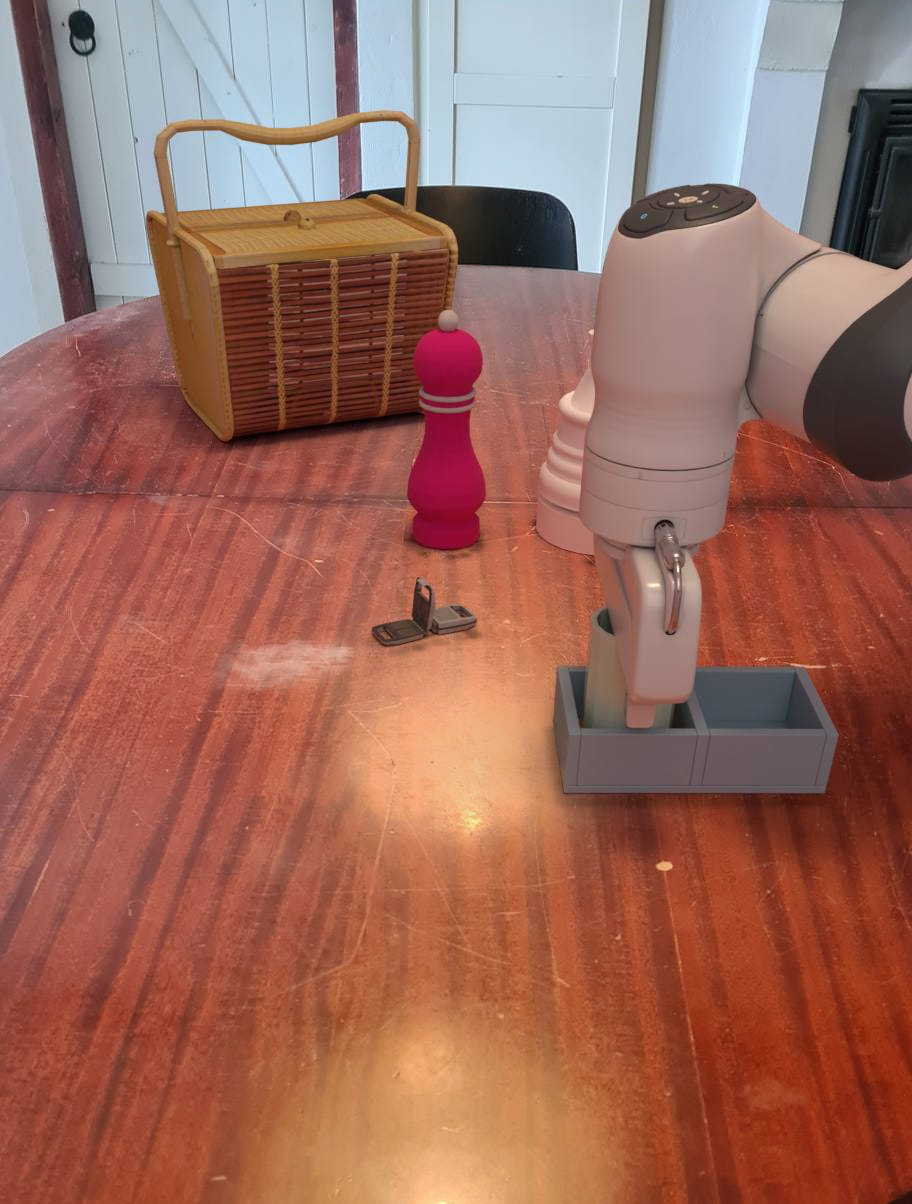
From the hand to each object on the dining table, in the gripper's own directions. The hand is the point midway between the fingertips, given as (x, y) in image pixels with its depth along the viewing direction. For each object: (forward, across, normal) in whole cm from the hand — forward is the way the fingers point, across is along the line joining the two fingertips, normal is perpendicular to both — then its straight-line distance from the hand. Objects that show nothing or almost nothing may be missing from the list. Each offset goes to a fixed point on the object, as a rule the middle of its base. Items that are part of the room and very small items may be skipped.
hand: (630, 693), depth 83 cm
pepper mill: (+5, +38, +12) cm, 40 cm away
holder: (+5, 0, -4) cm, 7 cm away
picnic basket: (+5, +75, +28) cm, 80 cm away
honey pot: (+5, +40, -3) cm, 40 cm away
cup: (+4, 0, 0) cm, 4 cm away
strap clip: (+5, +19, +14) cm, 24 cm away
